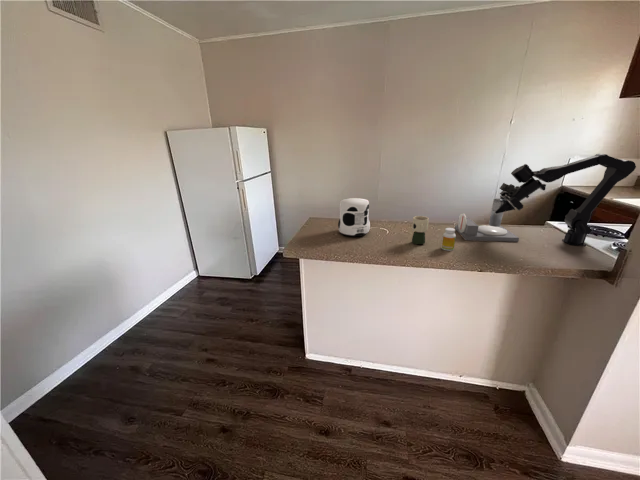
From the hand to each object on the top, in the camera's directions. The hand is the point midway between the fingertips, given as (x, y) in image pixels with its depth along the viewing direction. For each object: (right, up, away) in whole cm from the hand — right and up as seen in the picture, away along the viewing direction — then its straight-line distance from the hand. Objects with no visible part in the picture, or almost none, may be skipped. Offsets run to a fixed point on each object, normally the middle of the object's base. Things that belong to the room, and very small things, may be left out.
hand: (494, 211), depth 134 cm
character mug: (-38, -16, -1) cm, 41 cm away
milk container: (-68, -11, +15) cm, 70 cm away
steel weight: (+1, -7, +2) cm, 7 cm away
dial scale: (0, -11, +8) cm, 14 cm away
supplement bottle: (-27, -18, -8) cm, 34 cm away
